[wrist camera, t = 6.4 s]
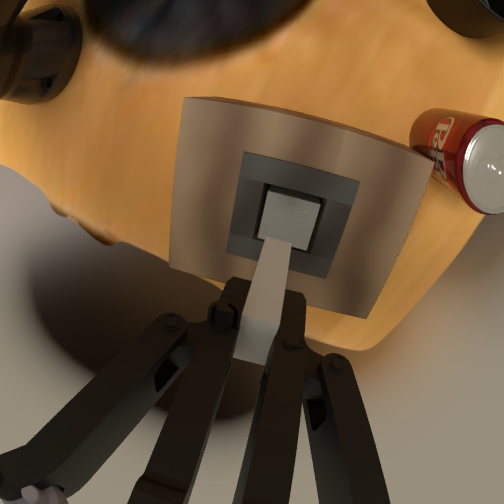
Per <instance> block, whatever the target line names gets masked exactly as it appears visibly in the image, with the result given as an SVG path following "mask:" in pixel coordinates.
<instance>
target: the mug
mask: <svg viewBox="0 0 504 504" xmlns="http://www.w3.org/2000/svg"><path fill="white" fill-rule="evenodd" d="M427 1H428V3H429V5H430V7H431V8H432V10H433V11H434V12H435V14H436V15H437V16H438V17H439V18H440V19H441V20H442V21H443V22H444V23H445V24H446V25H447V26H449V27H450V28H452V29H453V30H455V31H456V32H458V33H460V34H462V35H465V36H468V37H472V38H482V37H486V36H490V35H495V34H499V33H504V0H427Z"/></svg>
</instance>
